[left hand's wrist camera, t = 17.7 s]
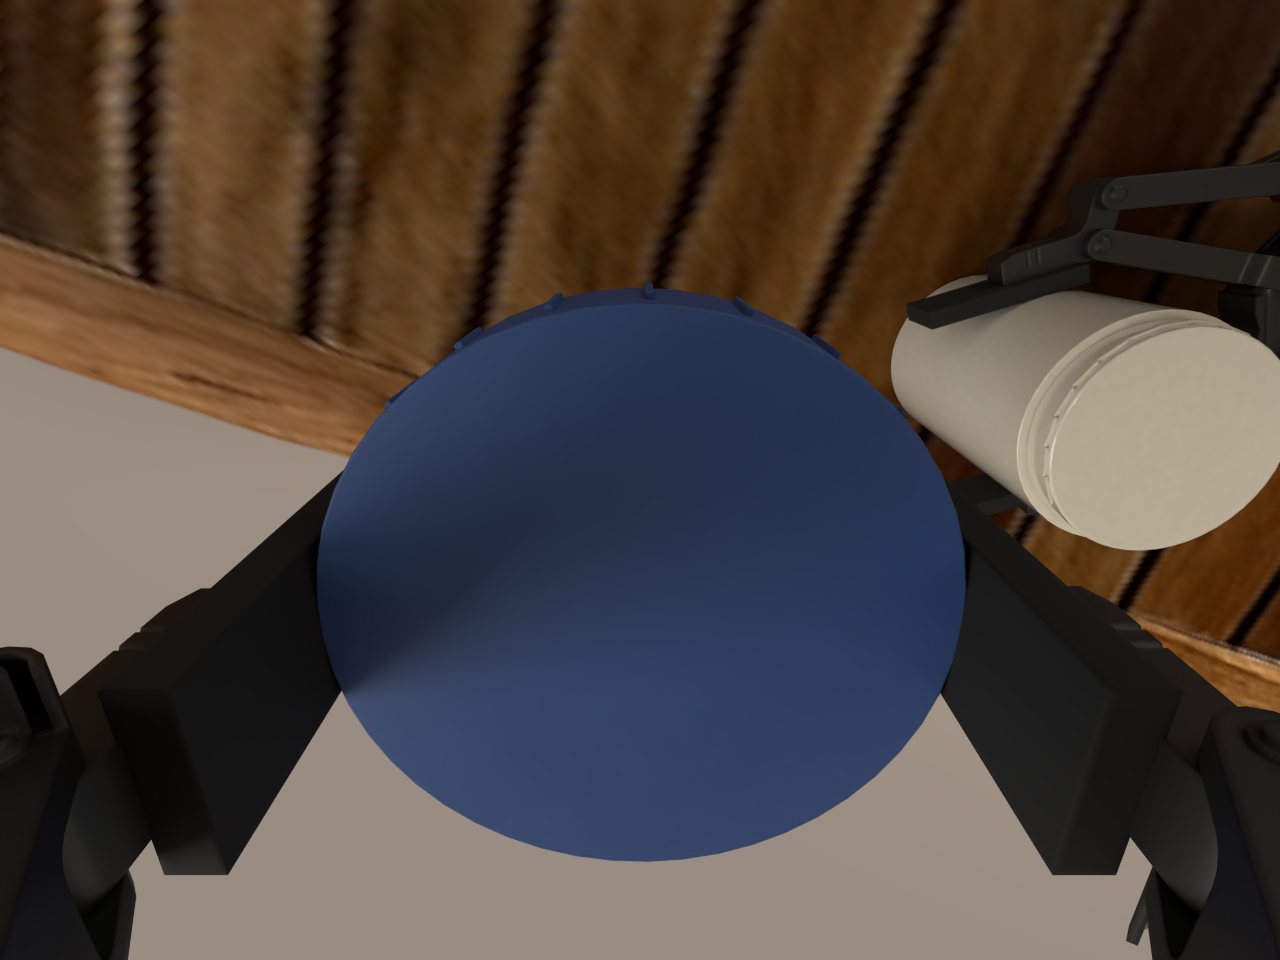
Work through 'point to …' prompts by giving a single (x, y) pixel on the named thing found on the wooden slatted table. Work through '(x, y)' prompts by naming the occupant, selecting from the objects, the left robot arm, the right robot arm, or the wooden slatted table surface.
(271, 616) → the left robot arm
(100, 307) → the wooden slatted table surface
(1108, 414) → the jar
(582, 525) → the lid
